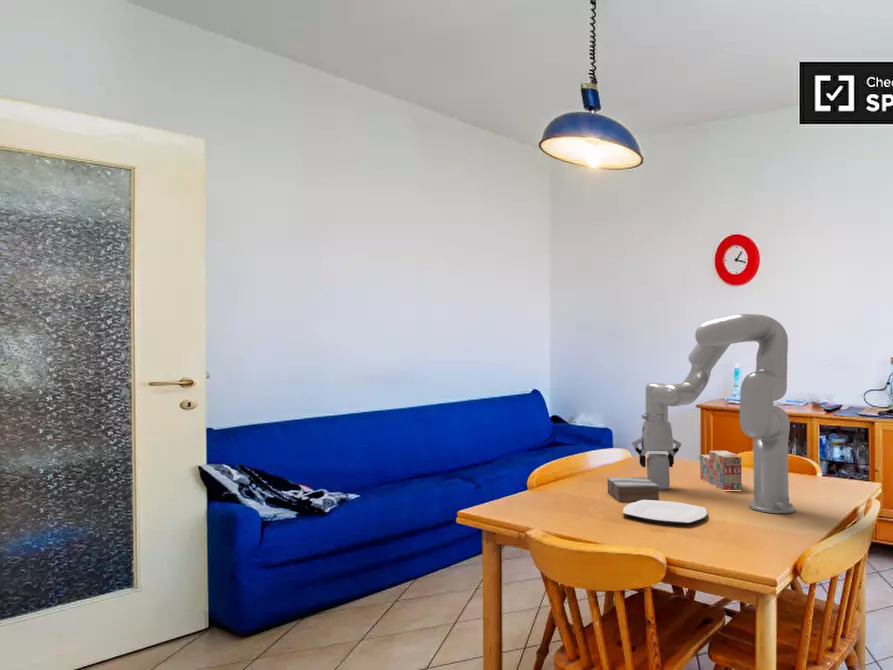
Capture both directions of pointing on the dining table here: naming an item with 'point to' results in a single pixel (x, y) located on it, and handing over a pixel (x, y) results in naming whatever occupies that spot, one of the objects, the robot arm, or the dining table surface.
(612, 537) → the dining table surface
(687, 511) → the plate
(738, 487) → the stack of blocks
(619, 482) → the riser
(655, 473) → the can
